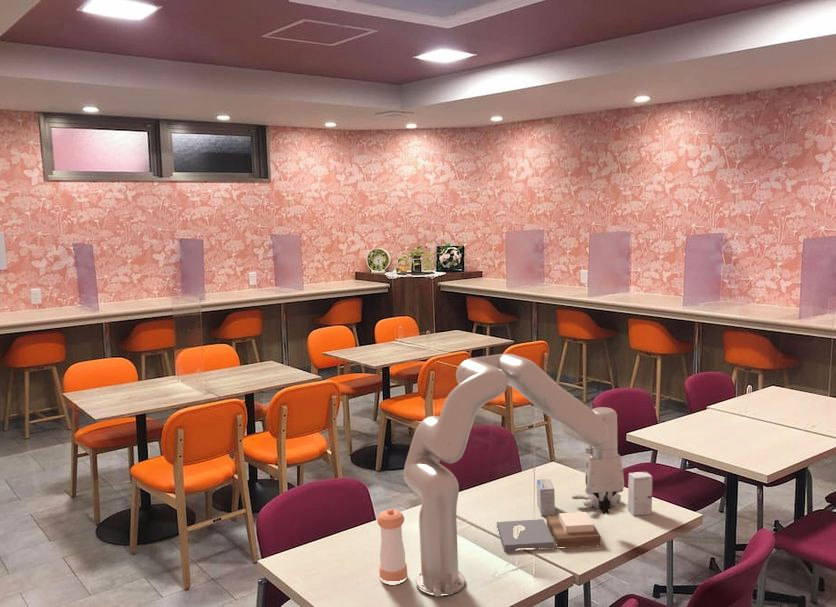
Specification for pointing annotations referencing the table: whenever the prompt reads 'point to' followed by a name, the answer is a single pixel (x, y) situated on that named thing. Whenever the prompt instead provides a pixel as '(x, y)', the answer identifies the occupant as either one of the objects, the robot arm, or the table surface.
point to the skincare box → (640, 493)
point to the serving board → (571, 535)
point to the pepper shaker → (392, 546)
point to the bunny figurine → (596, 499)
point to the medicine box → (545, 497)
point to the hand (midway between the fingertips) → (604, 511)
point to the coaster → (576, 522)
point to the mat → (525, 535)
